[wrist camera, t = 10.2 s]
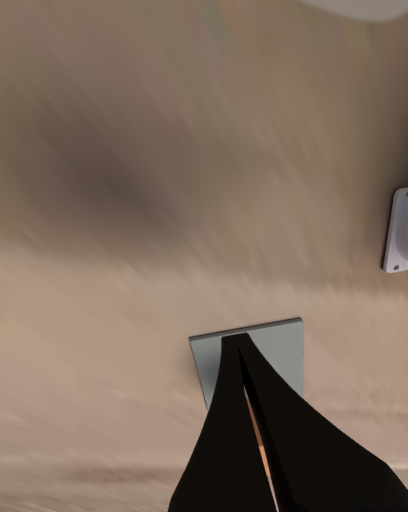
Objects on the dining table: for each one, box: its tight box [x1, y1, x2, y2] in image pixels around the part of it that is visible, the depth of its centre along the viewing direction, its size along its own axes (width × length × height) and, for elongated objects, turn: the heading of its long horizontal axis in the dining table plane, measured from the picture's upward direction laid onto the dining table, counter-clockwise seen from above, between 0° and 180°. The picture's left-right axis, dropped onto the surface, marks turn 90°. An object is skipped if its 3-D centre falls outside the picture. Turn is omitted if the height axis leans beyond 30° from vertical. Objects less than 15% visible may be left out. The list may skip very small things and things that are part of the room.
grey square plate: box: [190, 318, 304, 411], centre depth 26 cm, size 12×12×1 cm
